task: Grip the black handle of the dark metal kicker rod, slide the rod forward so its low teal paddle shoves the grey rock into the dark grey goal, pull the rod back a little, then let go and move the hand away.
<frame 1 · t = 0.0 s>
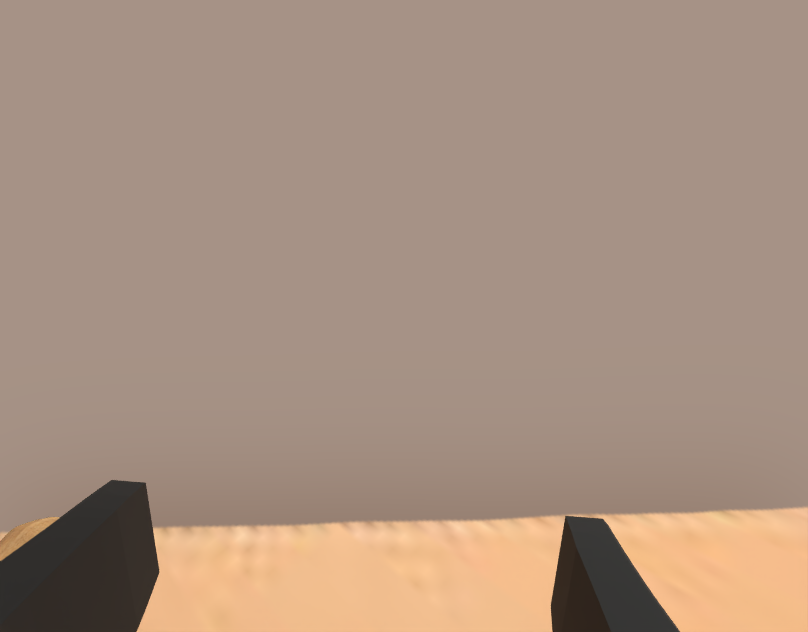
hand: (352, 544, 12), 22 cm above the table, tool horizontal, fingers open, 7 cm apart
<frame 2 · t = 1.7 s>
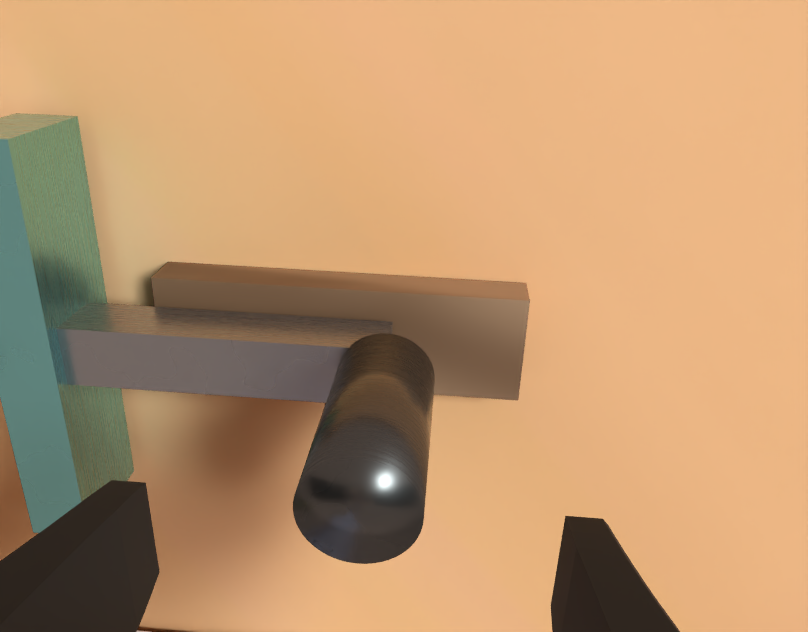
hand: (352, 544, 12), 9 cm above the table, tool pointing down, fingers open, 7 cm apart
kicker: (197, 391, 17), point 4 cm above the table, slide at 0.0 cm
rail: (344, 321, 20), on the table
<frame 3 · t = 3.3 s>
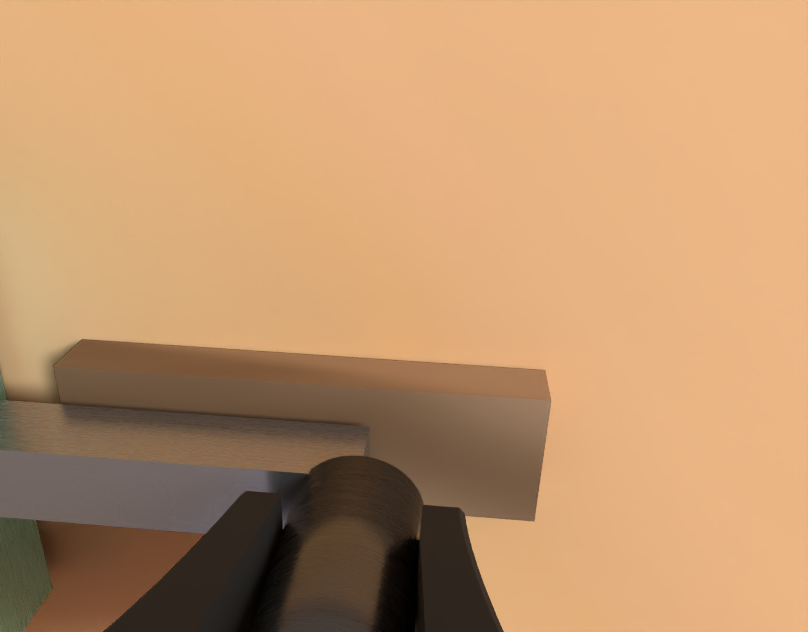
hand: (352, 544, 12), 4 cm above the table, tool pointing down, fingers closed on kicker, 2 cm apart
kicker: (99, 538, 12), point 4 cm above the table, slide at 0.0 cm, touching gripper
rail: (310, 413, 16), on the table
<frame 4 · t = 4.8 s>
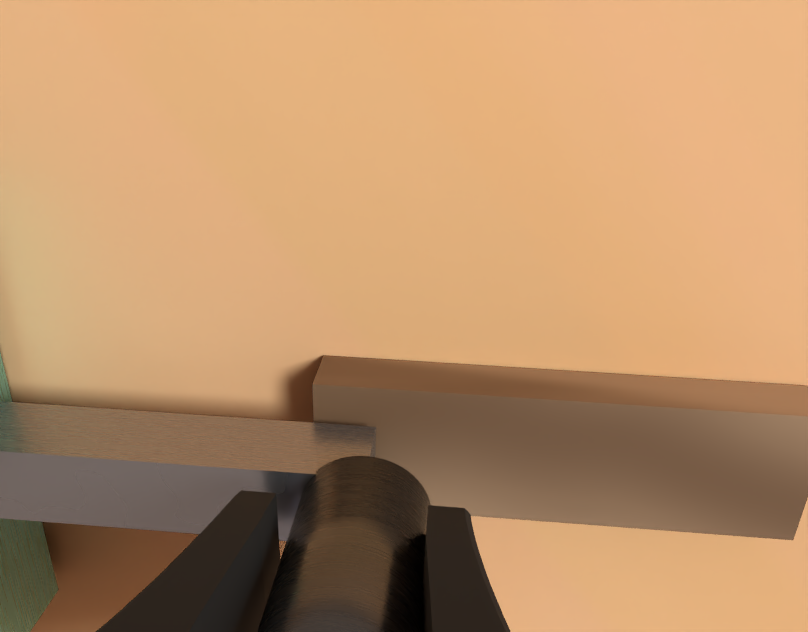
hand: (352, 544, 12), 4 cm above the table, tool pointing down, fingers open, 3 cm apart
kicker: (106, 539, 12), point 4 cm above the table, slide at 5.2 cm, touching grey rock, gripper
rail: (551, 430, 15), on the table
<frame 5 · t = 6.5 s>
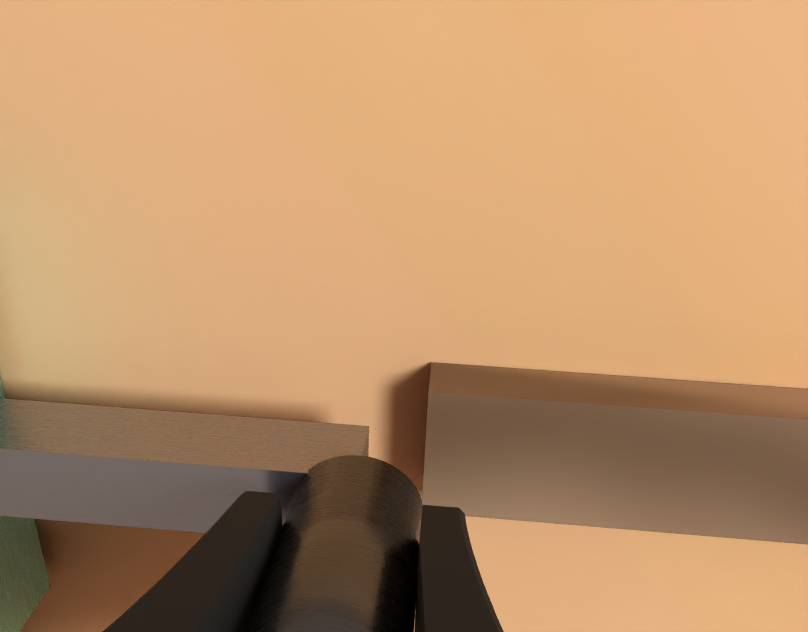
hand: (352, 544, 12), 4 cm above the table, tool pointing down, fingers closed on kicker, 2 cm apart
kicker: (97, 537, 12), point 4 cm above the table, slide at 7.6 cm, touching gripper
rail: (658, 439, 15), on the table
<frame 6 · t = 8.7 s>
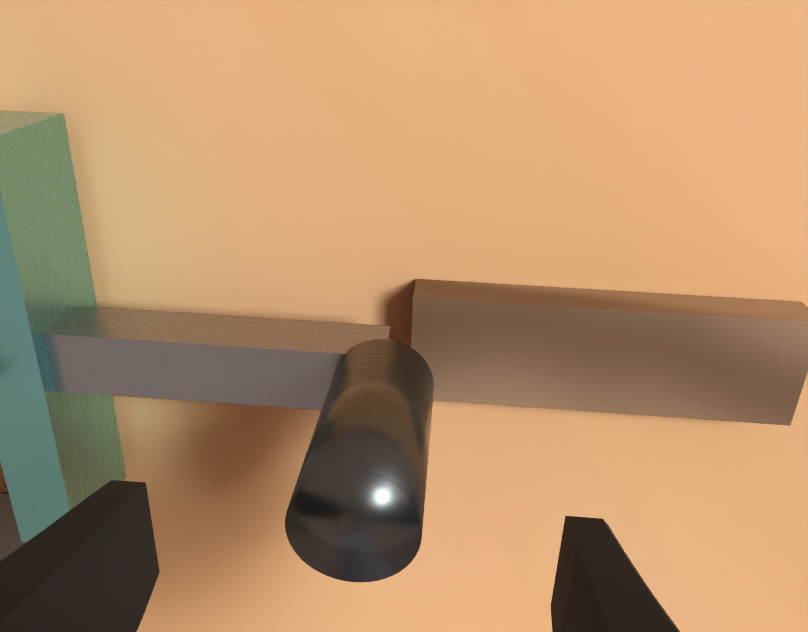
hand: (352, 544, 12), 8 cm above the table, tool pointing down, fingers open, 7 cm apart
kicker: (188, 399, 16), point 4 cm above the table, slide at 7.0 cm
rail: (597, 341, 19), on the table
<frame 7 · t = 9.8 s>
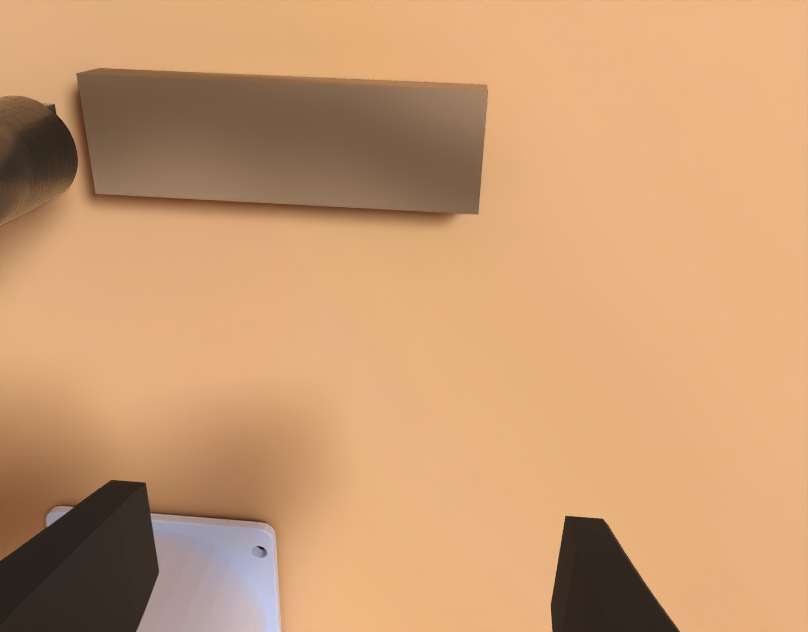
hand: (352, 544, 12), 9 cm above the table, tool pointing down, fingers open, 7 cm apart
rail: (292, 136, 19), on the table
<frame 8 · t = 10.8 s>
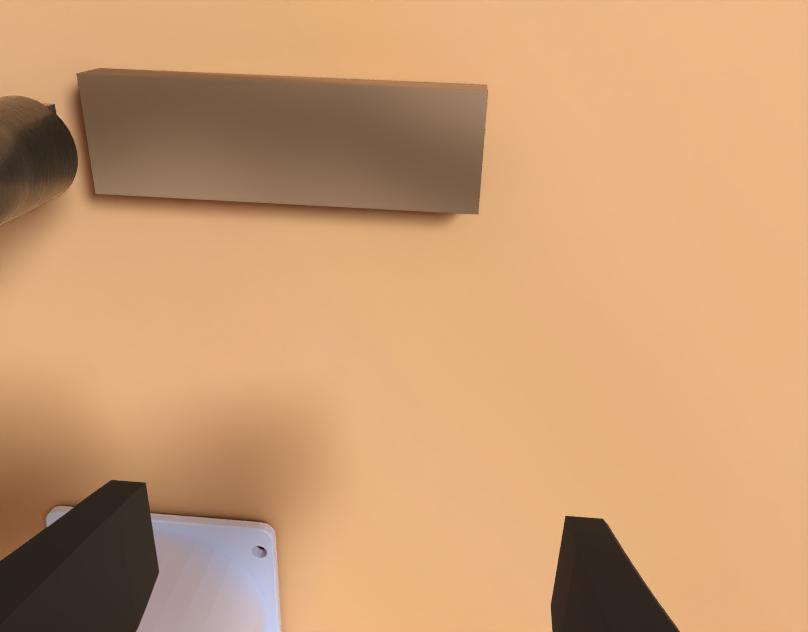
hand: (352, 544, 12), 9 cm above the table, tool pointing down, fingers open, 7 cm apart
rail: (292, 136, 19), on the table
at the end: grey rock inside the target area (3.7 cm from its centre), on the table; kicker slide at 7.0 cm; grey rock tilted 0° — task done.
